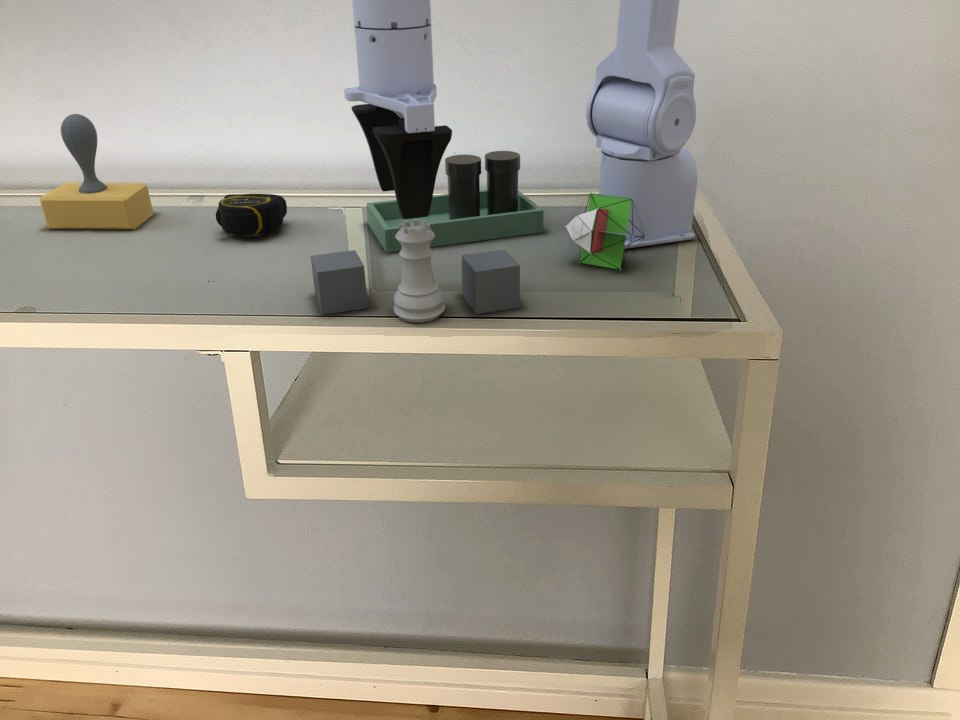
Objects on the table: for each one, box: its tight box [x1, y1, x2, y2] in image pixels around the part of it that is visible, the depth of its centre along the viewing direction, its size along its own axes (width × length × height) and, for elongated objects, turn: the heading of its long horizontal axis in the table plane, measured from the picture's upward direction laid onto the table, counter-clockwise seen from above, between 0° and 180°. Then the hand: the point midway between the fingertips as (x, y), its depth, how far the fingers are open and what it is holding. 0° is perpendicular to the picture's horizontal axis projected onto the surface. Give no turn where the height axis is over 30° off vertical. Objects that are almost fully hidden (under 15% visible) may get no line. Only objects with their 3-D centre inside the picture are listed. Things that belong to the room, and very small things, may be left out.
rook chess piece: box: [392, 219, 446, 324], centre depth 68 cm, size 4×4×8 cm
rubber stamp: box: [39, 113, 154, 231], centre depth 90 cm, size 10×6×12 cm, turn 86°
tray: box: [366, 188, 545, 254], centre depth 88 cm, size 17×9×2 cm, turn 108°
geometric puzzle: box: [564, 192, 646, 271], centre depth 78 cm, size 7×7×8 cm
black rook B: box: [444, 154, 482, 220], centre depth 87 cm, size 4×4×7 cm
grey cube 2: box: [461, 249, 521, 315], centre depth 71 cm, size 4×4×4 cm
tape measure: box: [215, 193, 288, 238], centre depth 88 cm, size 7×7×4 cm
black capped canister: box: [484, 150, 521, 215], centre depth 88 cm, size 4×4×7 cm
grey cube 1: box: [310, 249, 369, 316], centre depth 71 cm, size 4×4×4 cm
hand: (403, 202), depth 67 cm, fingers open, 7 cm apart
